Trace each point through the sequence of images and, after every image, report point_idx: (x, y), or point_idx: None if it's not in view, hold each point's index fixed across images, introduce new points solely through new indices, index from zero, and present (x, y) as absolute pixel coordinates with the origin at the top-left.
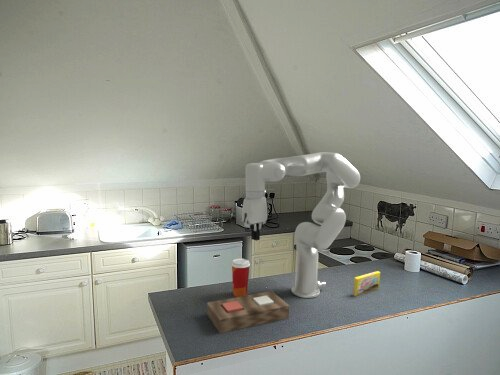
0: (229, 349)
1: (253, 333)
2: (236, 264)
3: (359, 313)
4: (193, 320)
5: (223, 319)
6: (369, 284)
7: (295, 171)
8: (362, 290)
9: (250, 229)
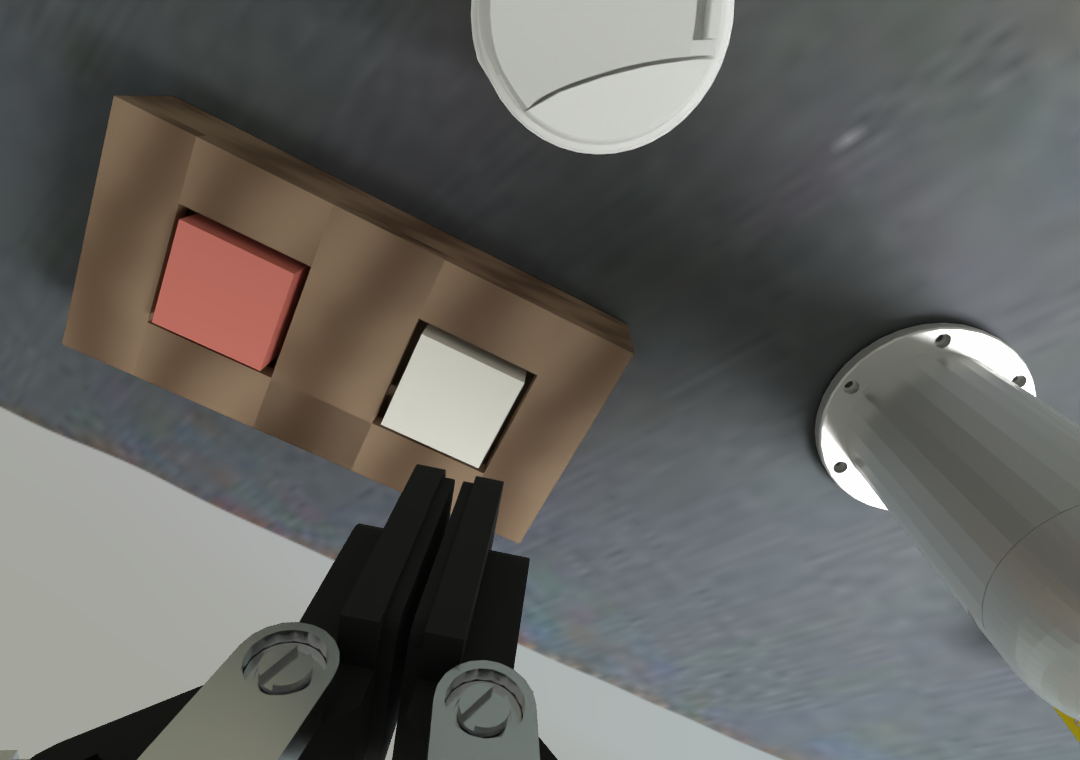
0: (82, 440)
1: (264, 445)
2: (491, 35)
3: (799, 713)
4: (58, 76)
5: (86, 353)
6: None
7: None
8: None
9: (256, 645)
